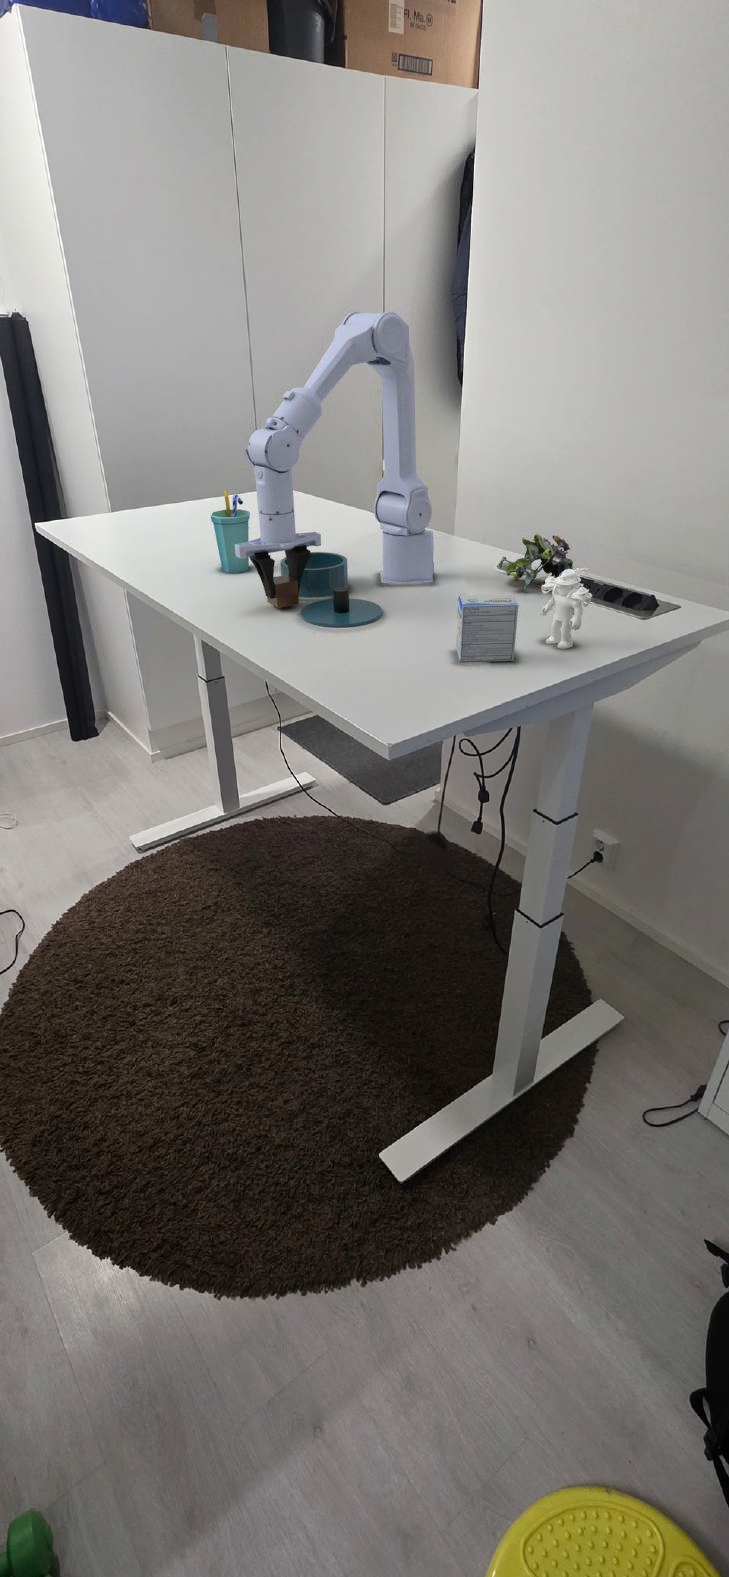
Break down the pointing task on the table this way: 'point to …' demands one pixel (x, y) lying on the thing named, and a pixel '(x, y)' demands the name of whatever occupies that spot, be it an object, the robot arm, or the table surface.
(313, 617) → the lid
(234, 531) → the cup
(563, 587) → the hat wearing toy figure
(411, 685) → the table surface
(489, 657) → the medicine box
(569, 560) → the passion flower
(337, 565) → the pot
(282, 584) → the block
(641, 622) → the table surface
